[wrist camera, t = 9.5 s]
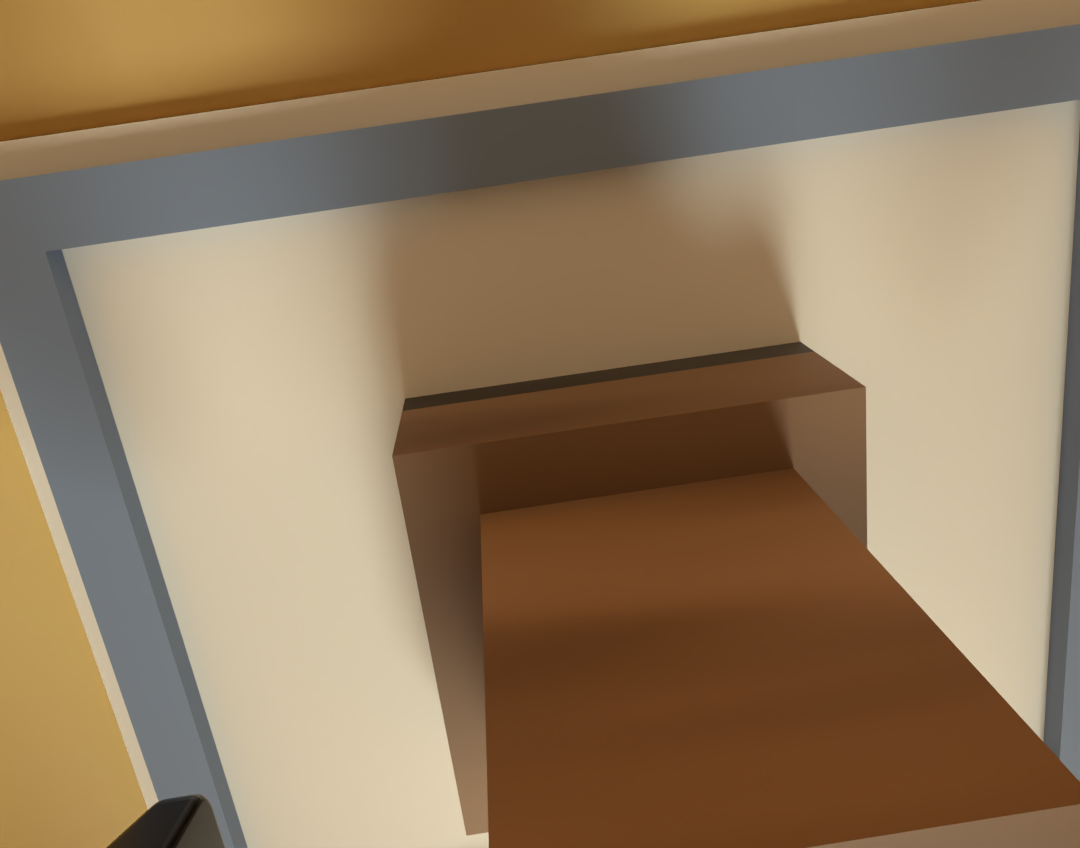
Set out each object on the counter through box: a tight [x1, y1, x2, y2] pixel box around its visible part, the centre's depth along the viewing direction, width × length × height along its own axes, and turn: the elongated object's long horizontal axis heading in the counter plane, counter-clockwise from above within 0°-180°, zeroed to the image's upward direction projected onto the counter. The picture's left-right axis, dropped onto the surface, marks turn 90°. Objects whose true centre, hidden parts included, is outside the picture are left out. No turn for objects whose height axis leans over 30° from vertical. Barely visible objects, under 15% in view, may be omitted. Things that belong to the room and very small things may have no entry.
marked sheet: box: [0, 0, 1080, 848], centre depth 12 cm, size 12×14×1 cm
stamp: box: [392, 342, 1080, 848], centre depth 9 cm, size 5×5×7 cm
